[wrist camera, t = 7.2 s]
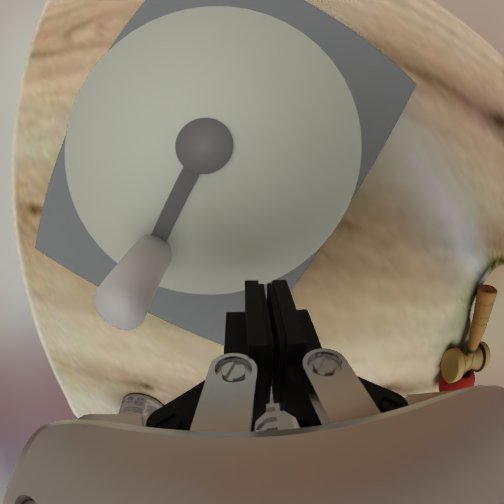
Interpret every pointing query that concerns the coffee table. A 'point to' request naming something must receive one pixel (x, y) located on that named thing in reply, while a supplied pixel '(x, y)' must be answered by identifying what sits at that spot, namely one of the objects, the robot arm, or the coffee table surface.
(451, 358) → the kendama
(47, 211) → the board
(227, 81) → the dial
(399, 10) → the coffee table surface
